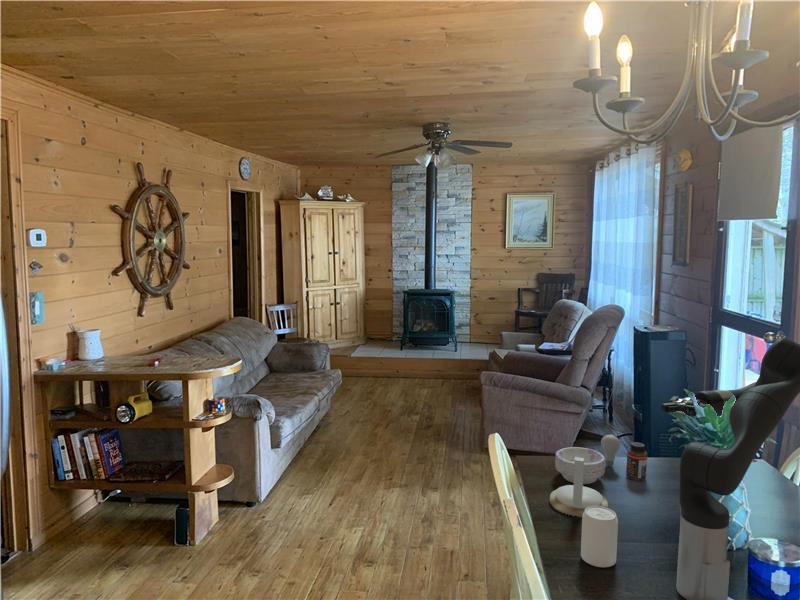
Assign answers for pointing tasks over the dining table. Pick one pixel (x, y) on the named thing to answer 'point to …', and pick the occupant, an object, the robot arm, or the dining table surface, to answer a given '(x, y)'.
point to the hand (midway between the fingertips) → (663, 408)
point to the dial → (578, 490)
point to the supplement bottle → (636, 462)
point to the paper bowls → (592, 463)
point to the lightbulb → (610, 448)
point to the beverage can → (599, 536)
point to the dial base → (570, 510)
